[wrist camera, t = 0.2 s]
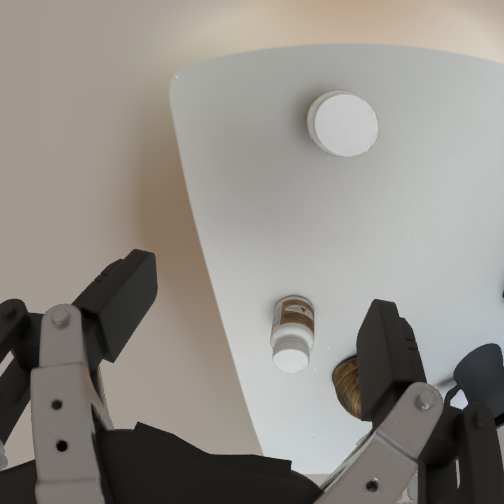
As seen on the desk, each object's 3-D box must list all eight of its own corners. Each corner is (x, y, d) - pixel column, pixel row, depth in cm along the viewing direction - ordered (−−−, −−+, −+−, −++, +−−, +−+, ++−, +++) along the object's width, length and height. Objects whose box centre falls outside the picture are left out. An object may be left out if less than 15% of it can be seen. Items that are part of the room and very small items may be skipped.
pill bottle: (320, 302, 32) (322, 353, 25) (304, 329, 34) (302, 380, 28) (283, 289, 32) (277, 339, 25) (269, 318, 34) (260, 368, 27)
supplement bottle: (367, 105, 22) (395, 106, 15) (350, 153, 24) (371, 175, 17) (314, 86, 22) (320, 76, 15) (299, 135, 24) (298, 148, 17)
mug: (502, 334, 30) (531, 390, 21) (499, 367, 33) (520, 419, 24) (434, 368, 35) (453, 431, 25) (439, 397, 38) (452, 452, 28)
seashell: (405, 330, 32) (421, 380, 25) (413, 373, 36) (424, 418, 29) (321, 357, 36) (321, 408, 29) (340, 394, 39) (341, 440, 32)
